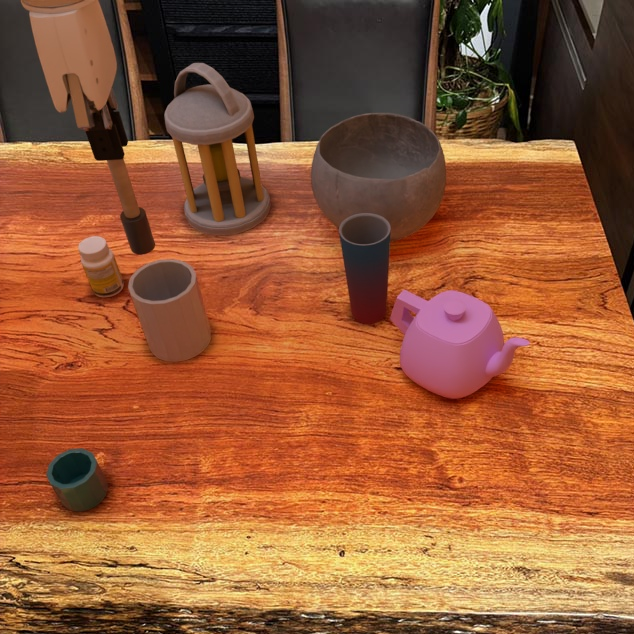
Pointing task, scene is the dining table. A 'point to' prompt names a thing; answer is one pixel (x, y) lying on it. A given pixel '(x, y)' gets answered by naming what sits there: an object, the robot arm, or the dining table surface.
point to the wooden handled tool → (130, 209)
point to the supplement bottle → (100, 267)
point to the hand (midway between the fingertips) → (112, 151)
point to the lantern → (216, 154)
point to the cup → (366, 264)
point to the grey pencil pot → (170, 309)
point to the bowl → (380, 171)
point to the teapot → (451, 342)
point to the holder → (77, 479)
